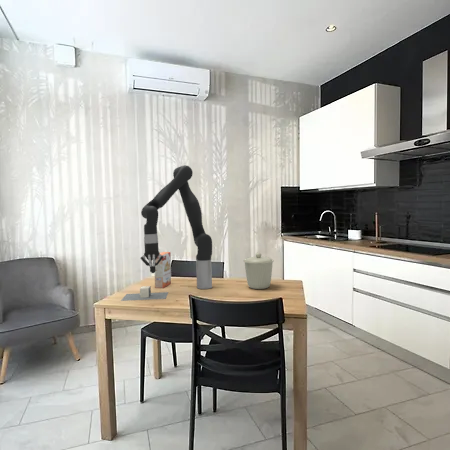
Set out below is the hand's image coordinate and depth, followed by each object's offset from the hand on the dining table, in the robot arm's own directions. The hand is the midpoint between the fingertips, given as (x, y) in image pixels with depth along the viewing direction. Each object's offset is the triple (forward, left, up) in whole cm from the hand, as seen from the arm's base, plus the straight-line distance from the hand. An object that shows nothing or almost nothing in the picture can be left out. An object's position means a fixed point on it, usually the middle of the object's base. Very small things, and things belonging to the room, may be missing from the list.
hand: (152, 272), depth 184 cm
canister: (-61, -11, -14) cm, 64 cm away
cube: (+2, 0, -11) cm, 11 cm away
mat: (+5, 0, -13) cm, 14 cm away
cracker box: (-2, -25, -14) cm, 29 cm away
